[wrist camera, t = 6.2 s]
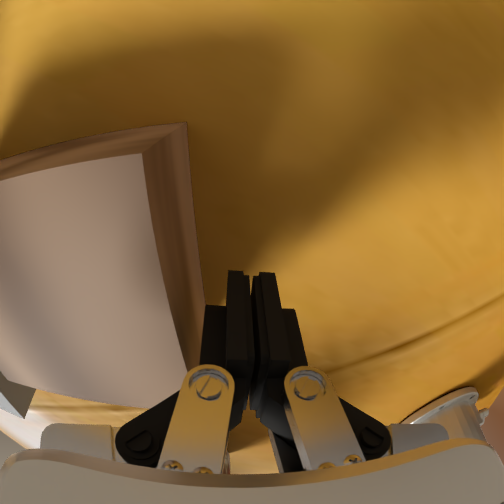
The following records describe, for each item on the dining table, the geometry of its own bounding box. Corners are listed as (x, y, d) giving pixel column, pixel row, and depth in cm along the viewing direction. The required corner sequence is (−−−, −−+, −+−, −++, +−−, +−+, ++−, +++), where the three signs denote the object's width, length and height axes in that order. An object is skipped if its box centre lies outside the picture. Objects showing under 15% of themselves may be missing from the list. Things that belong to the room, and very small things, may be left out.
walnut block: (187, 121, 11) (141, 153, 6) (207, 314, 16) (199, 411, 11) (-5, 161, 10) (-83, 210, 5) (46, 310, 16) (7, 380, 10)
